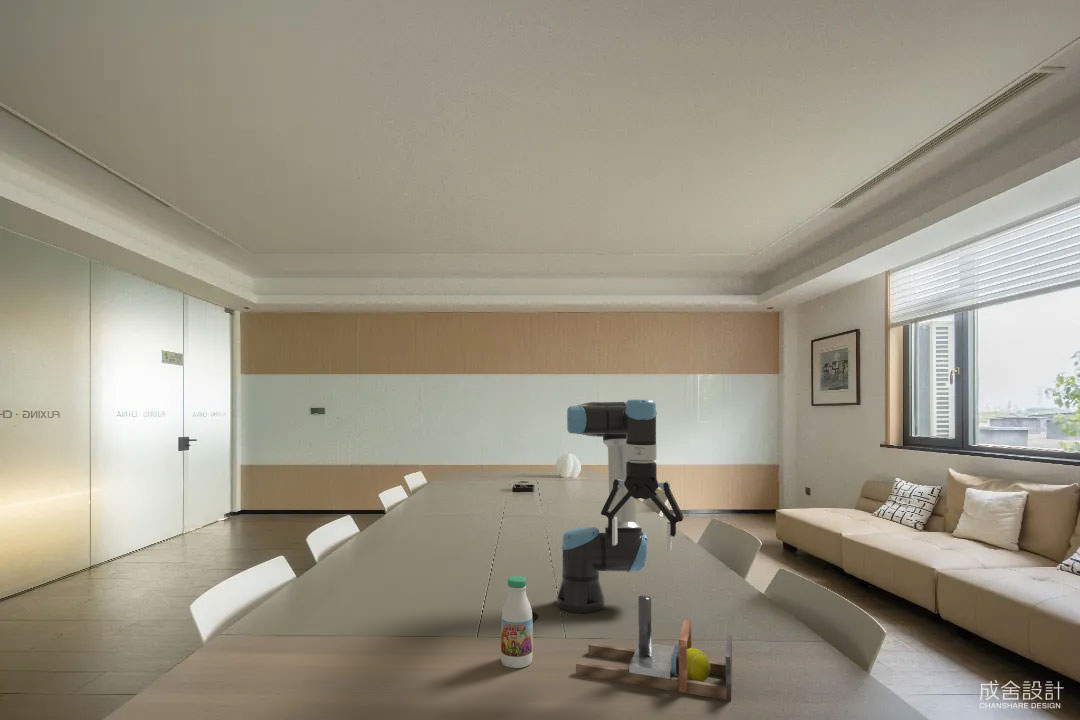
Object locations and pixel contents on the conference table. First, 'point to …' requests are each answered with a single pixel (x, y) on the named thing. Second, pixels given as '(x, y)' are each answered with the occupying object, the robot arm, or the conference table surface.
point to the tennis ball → (697, 665)
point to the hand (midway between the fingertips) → (641, 546)
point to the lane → (657, 682)
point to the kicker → (652, 648)
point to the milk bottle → (516, 626)
